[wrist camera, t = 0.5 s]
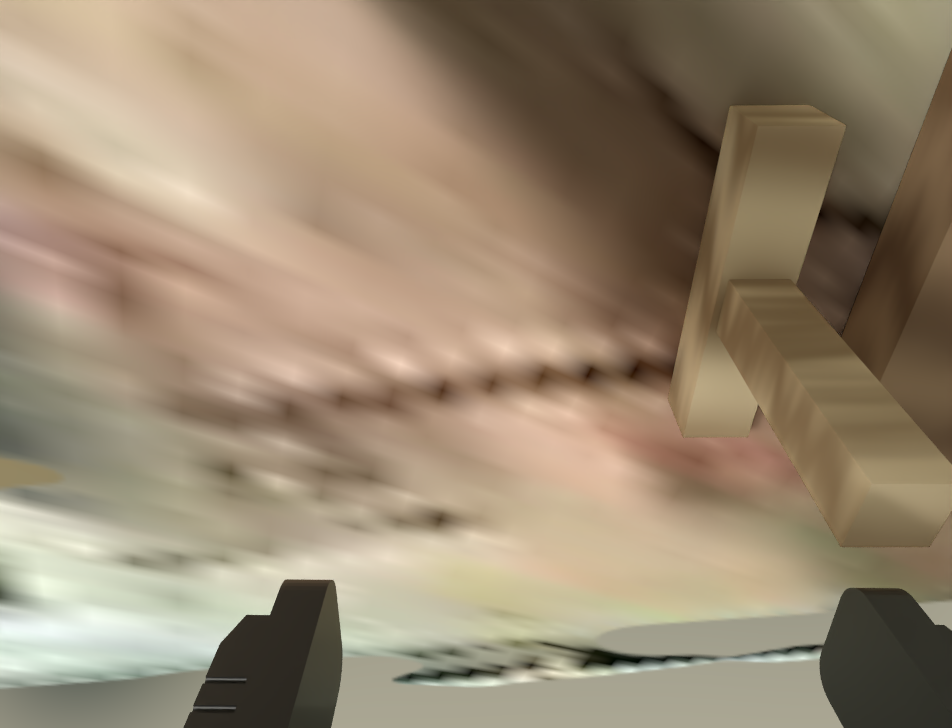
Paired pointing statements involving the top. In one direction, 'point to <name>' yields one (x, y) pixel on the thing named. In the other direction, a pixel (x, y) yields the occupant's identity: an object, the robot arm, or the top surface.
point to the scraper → (796, 342)
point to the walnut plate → (915, 283)
